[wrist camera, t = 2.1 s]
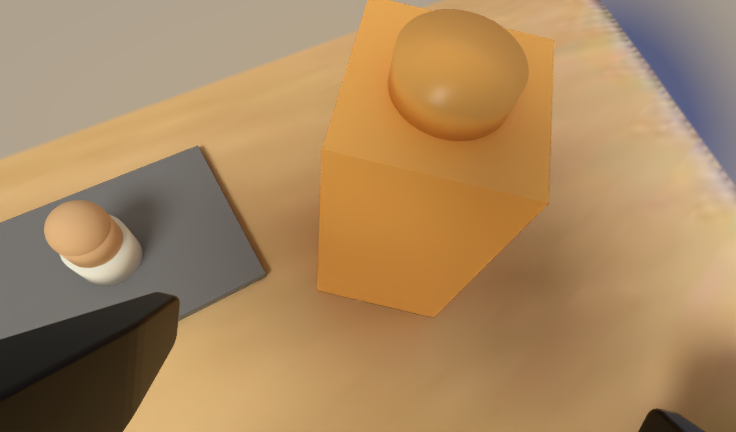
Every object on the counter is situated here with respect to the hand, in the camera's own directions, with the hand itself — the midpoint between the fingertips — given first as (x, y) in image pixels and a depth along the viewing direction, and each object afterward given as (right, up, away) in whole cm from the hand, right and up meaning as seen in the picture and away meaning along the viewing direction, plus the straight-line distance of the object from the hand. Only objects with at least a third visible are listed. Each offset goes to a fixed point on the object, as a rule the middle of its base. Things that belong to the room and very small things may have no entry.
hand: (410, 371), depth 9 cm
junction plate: (-13, +1, +14) cm, 19 cm away
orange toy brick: (0, +1, +16) cm, 16 cm away
